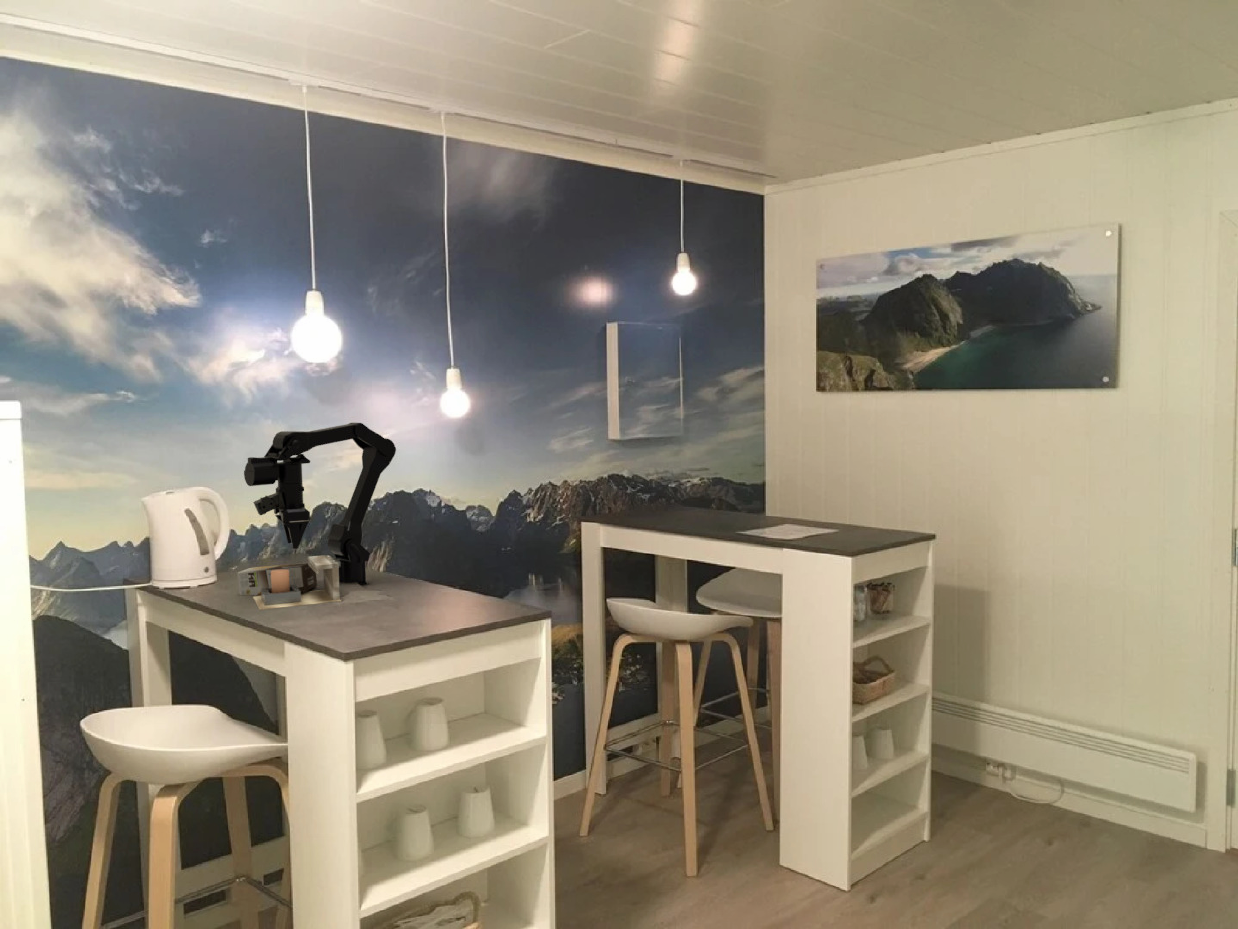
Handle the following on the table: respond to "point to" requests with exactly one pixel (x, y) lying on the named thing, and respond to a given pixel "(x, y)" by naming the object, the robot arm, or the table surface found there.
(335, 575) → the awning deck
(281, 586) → the peg
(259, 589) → the coffee box
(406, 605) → the table surface
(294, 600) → the socket
